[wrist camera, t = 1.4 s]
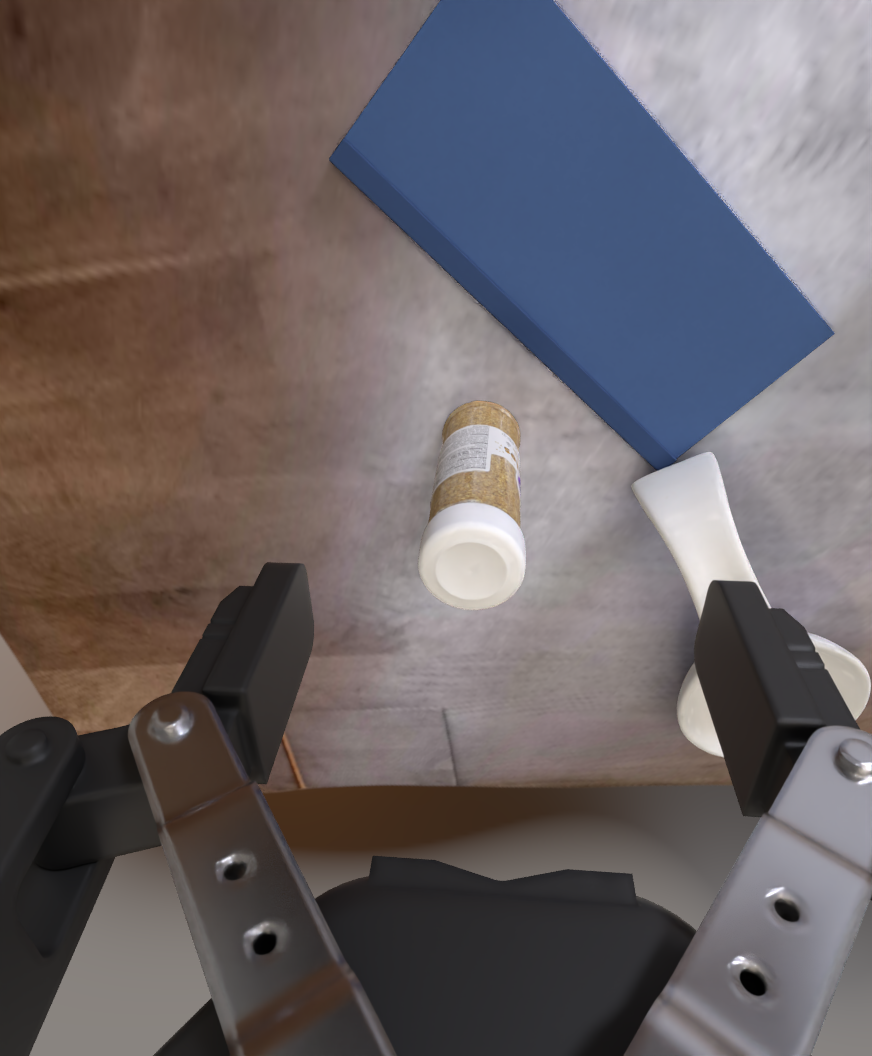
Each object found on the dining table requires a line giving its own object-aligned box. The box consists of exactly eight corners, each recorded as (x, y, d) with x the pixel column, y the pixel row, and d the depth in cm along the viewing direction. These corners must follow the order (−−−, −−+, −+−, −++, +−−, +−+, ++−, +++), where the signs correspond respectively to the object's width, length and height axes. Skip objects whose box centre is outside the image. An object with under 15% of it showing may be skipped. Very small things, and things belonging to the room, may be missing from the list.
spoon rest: (864, 692, 48) (916, 780, 42) (698, 739, 52) (724, 827, 46) (767, 417, 37) (819, 485, 31) (566, 504, 41) (578, 578, 35)
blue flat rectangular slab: (330, 158, 33) (328, 159, 32) (491, -71, 28) (491, -74, 27) (658, 469, 40) (660, 474, 40) (832, 331, 35) (836, 334, 35)
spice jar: (527, 460, 41) (536, 605, 29) (452, 476, 42) (433, 622, 30) (510, 388, 38) (513, 515, 27) (431, 407, 39) (402, 537, 28)
